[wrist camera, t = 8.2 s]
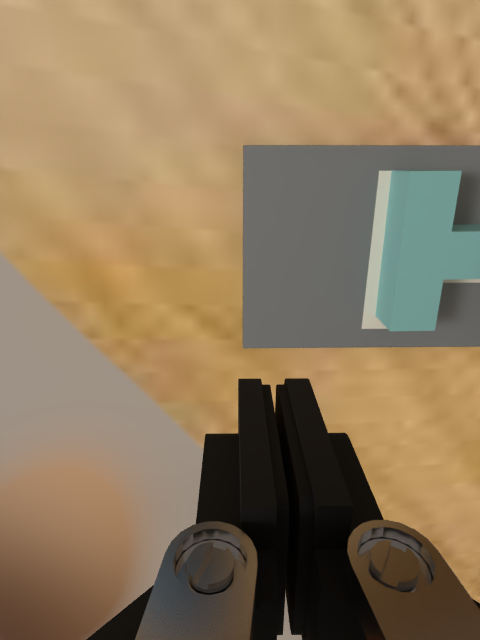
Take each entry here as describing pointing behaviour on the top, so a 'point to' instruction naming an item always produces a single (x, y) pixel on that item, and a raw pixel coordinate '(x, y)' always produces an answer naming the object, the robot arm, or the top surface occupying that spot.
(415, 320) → the t block
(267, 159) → the board
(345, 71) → the top surface
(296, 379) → the robot arm
